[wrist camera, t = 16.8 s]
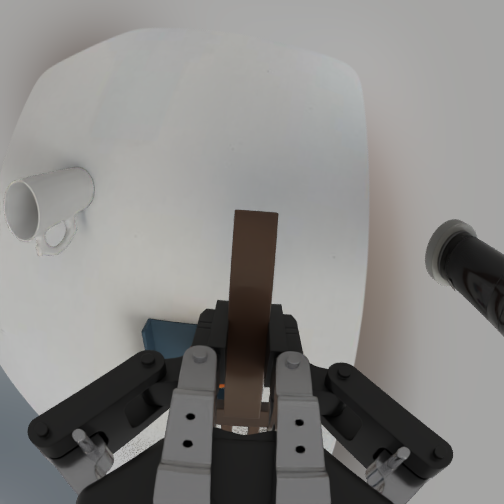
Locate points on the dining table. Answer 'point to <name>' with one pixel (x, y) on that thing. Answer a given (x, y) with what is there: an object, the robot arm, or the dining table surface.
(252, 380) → the fork
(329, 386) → the robot arm
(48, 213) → the mug
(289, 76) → the dining table surface
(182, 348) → the dustpan
